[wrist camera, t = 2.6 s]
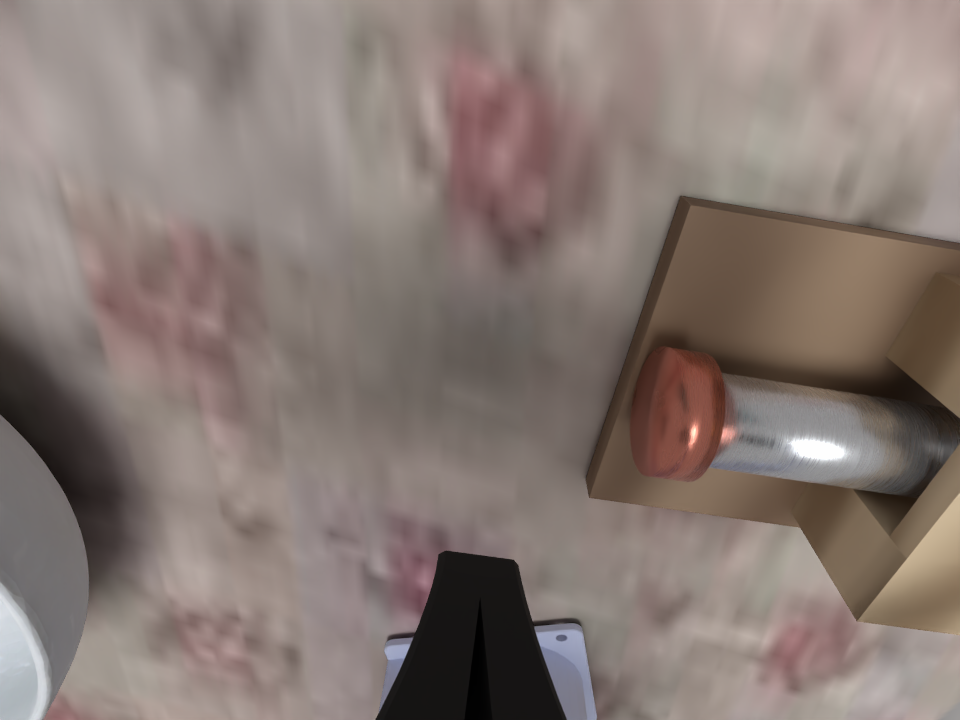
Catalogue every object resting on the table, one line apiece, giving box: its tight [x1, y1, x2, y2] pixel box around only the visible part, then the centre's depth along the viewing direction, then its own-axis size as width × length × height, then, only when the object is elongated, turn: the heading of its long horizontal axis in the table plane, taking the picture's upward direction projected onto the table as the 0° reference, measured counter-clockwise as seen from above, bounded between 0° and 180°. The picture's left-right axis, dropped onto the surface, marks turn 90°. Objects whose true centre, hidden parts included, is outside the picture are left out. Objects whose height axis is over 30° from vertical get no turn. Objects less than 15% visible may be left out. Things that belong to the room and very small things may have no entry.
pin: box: [630, 346, 960, 498], centre depth 17 cm, size 10×4×4 cm, turn 81°
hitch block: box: [586, 196, 960, 635], centre depth 17 cm, size 15×11×6 cm
